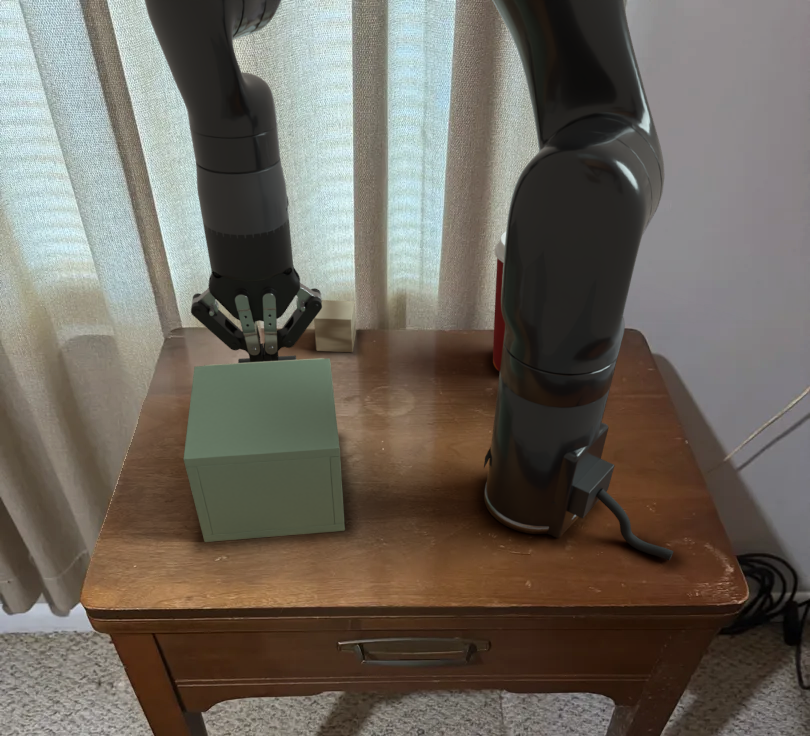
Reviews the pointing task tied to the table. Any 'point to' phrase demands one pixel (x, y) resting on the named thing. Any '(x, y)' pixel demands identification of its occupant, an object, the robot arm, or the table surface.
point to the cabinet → (264, 450)
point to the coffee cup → (499, 305)
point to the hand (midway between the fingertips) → (267, 380)
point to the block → (335, 326)
